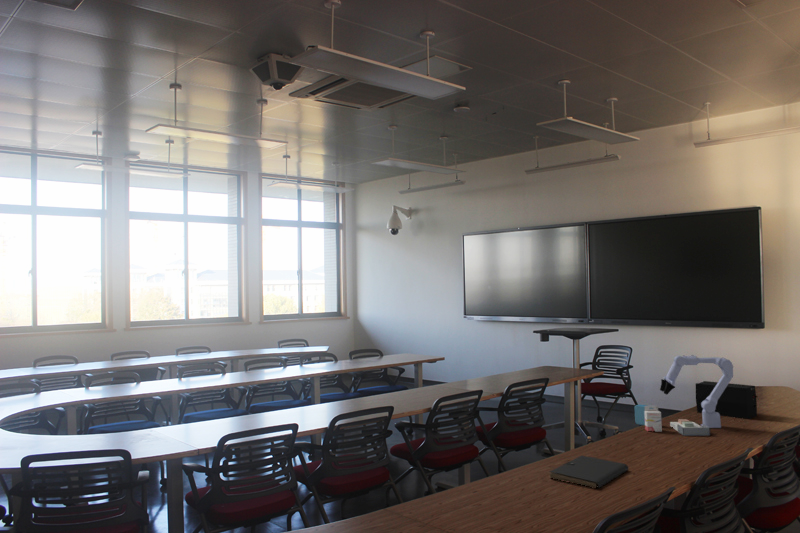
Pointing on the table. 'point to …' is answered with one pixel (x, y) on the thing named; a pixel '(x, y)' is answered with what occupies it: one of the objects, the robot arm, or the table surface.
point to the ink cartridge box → (652, 419)
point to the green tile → (688, 424)
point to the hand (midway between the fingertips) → (663, 392)
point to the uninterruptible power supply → (730, 399)
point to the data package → (640, 414)
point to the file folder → (589, 471)
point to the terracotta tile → (682, 420)
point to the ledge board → (674, 425)
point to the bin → (694, 431)
